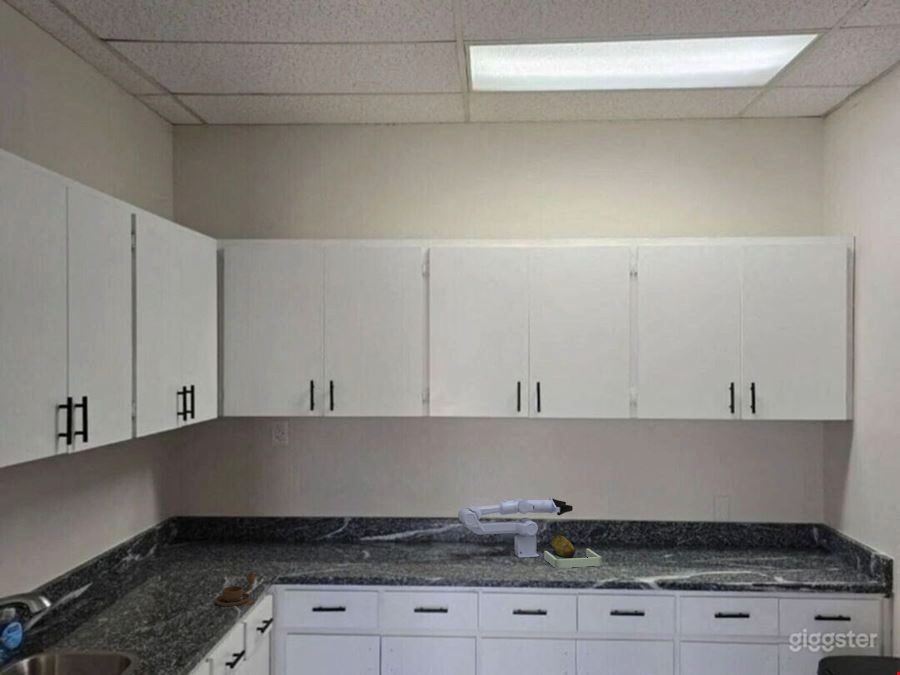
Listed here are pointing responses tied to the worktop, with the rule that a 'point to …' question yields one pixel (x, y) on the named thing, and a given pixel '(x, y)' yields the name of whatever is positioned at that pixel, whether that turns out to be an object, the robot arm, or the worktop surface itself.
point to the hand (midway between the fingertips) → (568, 506)
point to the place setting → (235, 594)
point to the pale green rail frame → (574, 560)
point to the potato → (562, 546)
